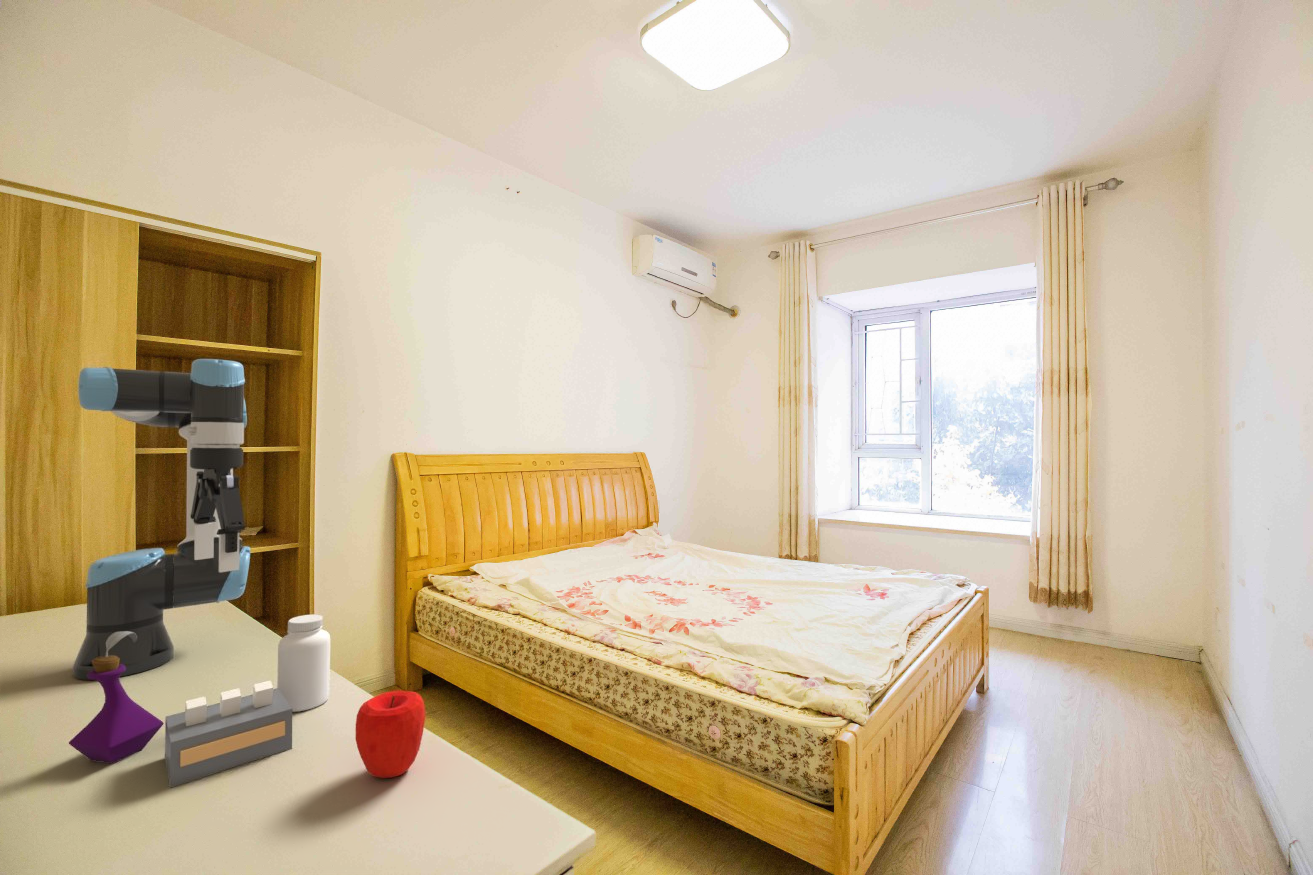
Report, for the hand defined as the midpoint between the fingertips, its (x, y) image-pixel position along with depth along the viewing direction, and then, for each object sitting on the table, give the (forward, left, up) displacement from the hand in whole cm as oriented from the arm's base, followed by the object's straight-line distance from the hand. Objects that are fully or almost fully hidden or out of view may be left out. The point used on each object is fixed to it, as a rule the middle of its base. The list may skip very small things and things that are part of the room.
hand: (215, 564), depth 101 cm
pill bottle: (+12, +11, -25) cm, 30 cm away
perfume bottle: (+12, -13, -25) cm, 30 cm away
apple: (+45, +15, -25) cm, 53 cm away
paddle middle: (+23, -1, -18) cm, 29 cm away
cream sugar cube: (+23, +3, -18) cm, 30 cm away
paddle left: (+23, -5, -18) cm, 30 cm away
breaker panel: (+23, -1, -24) cm, 33 cm away
